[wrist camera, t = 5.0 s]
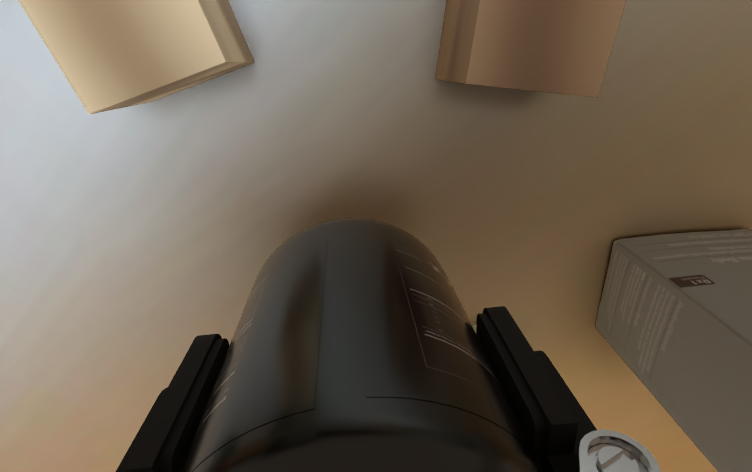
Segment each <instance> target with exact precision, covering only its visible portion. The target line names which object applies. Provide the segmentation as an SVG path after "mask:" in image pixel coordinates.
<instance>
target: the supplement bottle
mask: <svg viewBox="0 0 752 472" xmlns="http://www.w3.org/2000/svg"><path fill="white" fill-rule="evenodd" d="M181 472H545V471H544V469H543V467H542V465H541V463H540V461H539V459H538V457H537V455H536V453H535V451H534V449H533V447H532V445H531V443H530V441H529V439H528V437H527V435H526V433H525V431H524V429H523V427H522V425H521V423H520V421H519V419H518V417H517V415H516V413H515V411H514V409H513V407H512V405H511V403H510V401H509V399H508V397H507V395H506V393H505V391H504V389H503V387H502V385H501V383H500V381H499V379H498V377H497V375H496V373H495V371H494V369H493V367H492V365H491V363H490V361H489V359H488V357H487V355H486V353H485V351H484V349H483V347H482V345H481V343H480V341H479V339H478V337H477V335H476V333H475V331H474V329H473V327H472V325H471V323H470V321H469V319H468V317H467V315H466V313H465V311H464V309H463V307H462V305H461V303H460V301H459V299H458V297H457V295H456V293H455V291H454V289H453V287H452V285H451V283H450V281H449V279H448V277H447V275H446V274H445V272H444V270H443V268H442V266H441V265H440V263H439V262H438V260H437V259H436V258H435V256H434V255H433V254H432V252H431V251H430V250H429V249H428V248H427V247H426V246H425V245H424V244H423V243H422V242H420V241H419V240H418V239H417V238H415V237H414V236H412V235H411V234H409V233H407V232H405V231H404V230H402V229H400V228H397V227H395V226H392V225H390V224H386V223H383V222H379V221H375V220H368V219H354V218H350V219H339V220H332V221H328V222H324V223H320V224H317V225H314V226H312V227H309V228H307V229H305V230H303V231H301V232H299V233H298V234H296V235H294V236H292V237H291V238H290V239H288V240H287V241H286V242H284V243H283V244H282V245H281V246H280V247H279V248H277V249H276V250H275V251H274V253H273V254H272V255H271V256H270V257H269V259H268V260H267V261H266V263H265V264H264V266H263V267H262V269H261V271H260V273H259V275H258V276H257V279H256V281H255V284H254V286H253V288H252V290H251V293H250V295H249V298H248V300H247V303H246V305H245V308H244V310H243V313H242V315H241V318H240V321H239V323H238V326H237V328H236V331H235V333H234V336H233V339H232V341H231V344H230V346H229V349H228V351H227V354H226V357H225V359H224V362H223V364H222V367H221V369H220V372H219V375H218V377H217V380H216V382H215V385H214V387H213V390H212V393H211V395H210V398H209V400H208V403H207V405H206V408H205V411H204V413H203V416H202V418H201V421H200V423H199V426H198V429H197V431H196V434H195V436H194V439H193V441H192V444H191V447H190V449H189V452H188V454H187V457H186V459H185V462H184V465H183V467H182V470H181Z"/></svg>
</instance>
